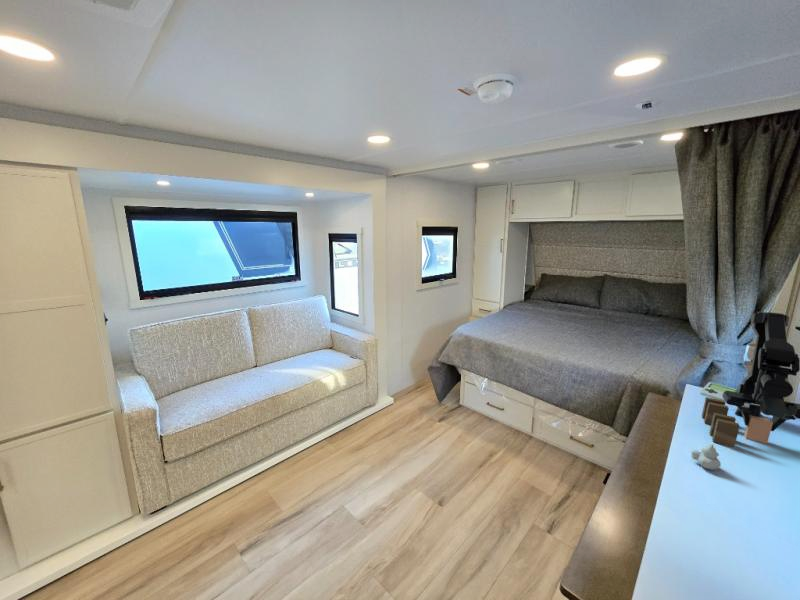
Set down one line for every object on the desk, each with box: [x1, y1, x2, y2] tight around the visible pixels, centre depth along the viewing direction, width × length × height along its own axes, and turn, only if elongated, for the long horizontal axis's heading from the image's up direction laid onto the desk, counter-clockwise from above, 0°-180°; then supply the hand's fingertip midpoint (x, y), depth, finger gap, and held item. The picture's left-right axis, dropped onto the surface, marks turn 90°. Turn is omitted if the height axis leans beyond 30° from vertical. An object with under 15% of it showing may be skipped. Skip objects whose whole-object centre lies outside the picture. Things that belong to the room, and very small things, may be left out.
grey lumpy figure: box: [690, 443, 721, 471], centre depth 96 cm, size 5×7×8 cm
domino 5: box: [743, 415, 773, 445], centre depth 107 cm, size 2×5×8 cm, turn 57°
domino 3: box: [708, 413, 737, 437], centre depth 109 cm, size 2×5×8 cm, turn 57°
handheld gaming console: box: [699, 381, 737, 401], centre depth 138 cm, size 10×2×15 cm
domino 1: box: [701, 396, 726, 419], centre depth 119 cm, size 2×5×8 cm, turn 57°
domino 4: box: [711, 419, 741, 448], centre depth 106 cm, size 2×5×8 cm, turn 57°
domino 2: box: [703, 402, 730, 426], centre depth 116 cm, size 2×5×8 cm, turn 57°
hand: (758, 427), depth 107 cm, fingers open, 6 cm apart
